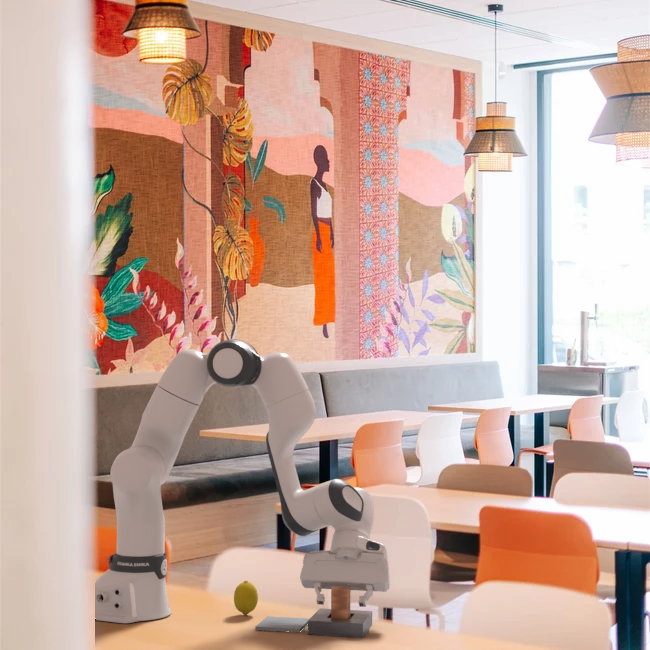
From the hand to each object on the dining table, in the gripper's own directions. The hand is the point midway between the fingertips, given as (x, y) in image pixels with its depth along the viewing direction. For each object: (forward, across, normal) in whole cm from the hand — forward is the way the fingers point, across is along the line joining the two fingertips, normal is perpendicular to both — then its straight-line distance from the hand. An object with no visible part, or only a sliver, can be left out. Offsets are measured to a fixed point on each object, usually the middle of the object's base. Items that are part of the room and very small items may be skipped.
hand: (341, 604), depth 233 cm
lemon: (-2, -24, +10) cm, 26 cm away
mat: (+4, -13, +4) cm, 14 cm away
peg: (+4, 0, +4) cm, 6 cm away
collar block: (+4, 0, +4) cm, 5 cm away
